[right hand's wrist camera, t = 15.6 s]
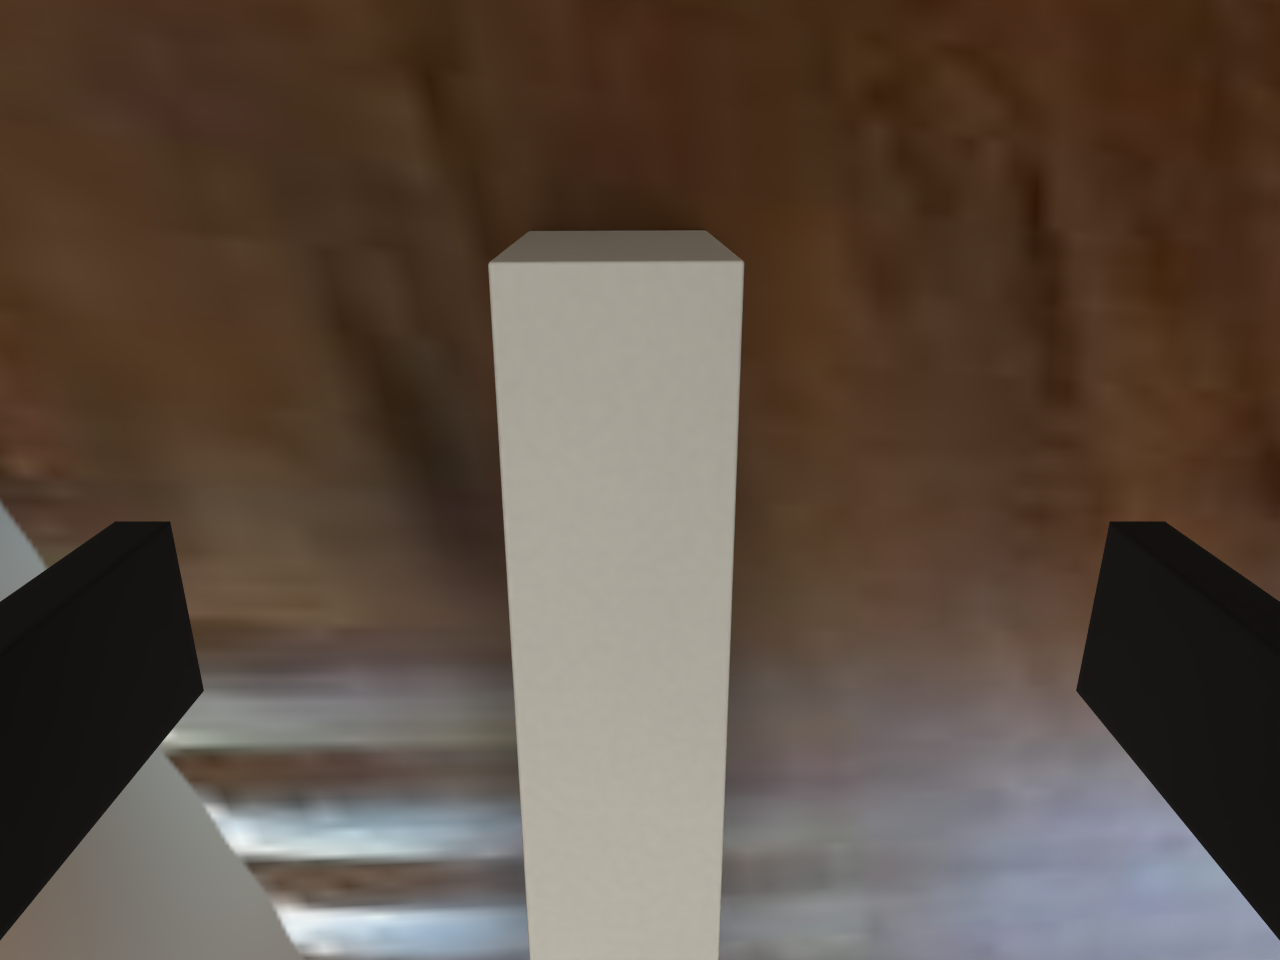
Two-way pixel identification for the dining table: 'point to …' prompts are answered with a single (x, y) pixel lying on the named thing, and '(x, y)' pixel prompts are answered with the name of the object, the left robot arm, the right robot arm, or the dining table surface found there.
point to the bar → (619, 579)
